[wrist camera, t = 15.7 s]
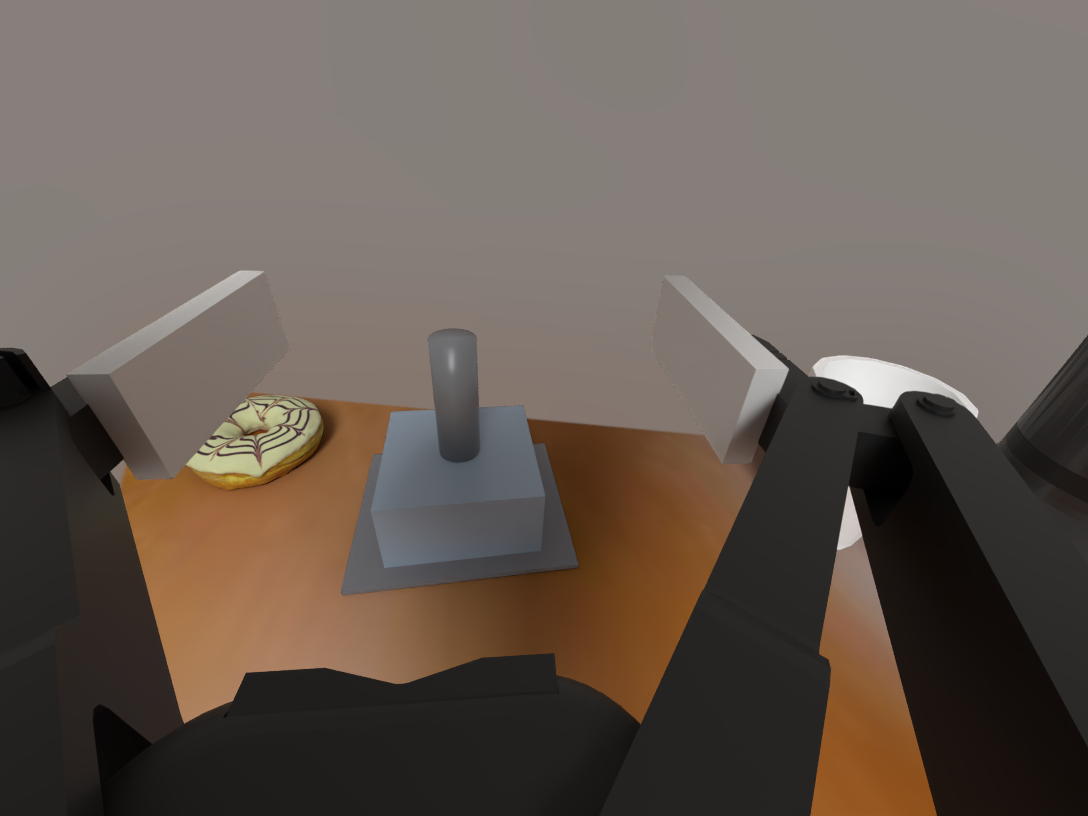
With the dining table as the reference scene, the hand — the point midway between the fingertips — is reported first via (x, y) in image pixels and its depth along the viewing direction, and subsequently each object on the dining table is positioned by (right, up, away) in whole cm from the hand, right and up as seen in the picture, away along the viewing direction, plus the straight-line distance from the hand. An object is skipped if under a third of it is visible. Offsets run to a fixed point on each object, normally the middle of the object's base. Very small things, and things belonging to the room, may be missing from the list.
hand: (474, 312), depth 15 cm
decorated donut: (-24, -8, +25) cm, 35 cm away
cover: (-4, -11, +20) cm, 23 cm away
